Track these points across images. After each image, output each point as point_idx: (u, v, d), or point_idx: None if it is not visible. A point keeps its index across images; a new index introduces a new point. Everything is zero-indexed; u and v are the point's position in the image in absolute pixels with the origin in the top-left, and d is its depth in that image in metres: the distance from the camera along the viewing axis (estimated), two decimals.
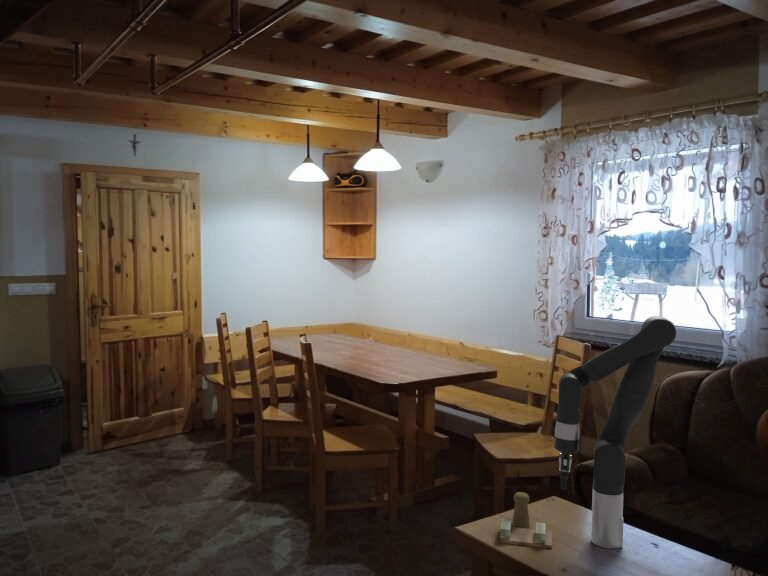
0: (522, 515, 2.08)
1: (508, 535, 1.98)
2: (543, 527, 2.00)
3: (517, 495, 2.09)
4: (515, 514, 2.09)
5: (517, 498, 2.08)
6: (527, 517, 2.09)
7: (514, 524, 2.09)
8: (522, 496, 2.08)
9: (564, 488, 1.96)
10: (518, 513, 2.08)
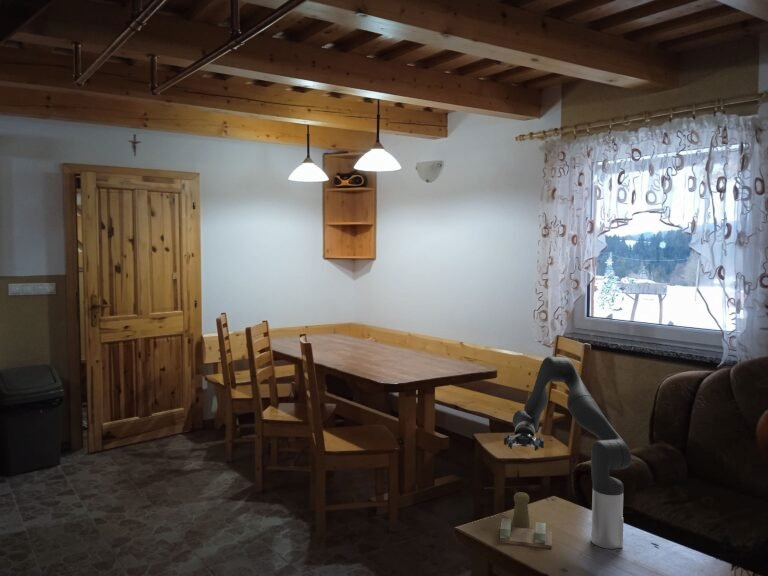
0: (522, 515, 2.08)
1: (508, 535, 1.98)
2: (543, 527, 2.00)
3: (517, 495, 2.09)
4: (515, 514, 2.09)
5: (517, 498, 2.08)
6: (527, 517, 2.09)
7: (514, 524, 2.09)
8: (522, 496, 2.08)
9: (510, 444, 2.21)
10: (518, 513, 2.08)
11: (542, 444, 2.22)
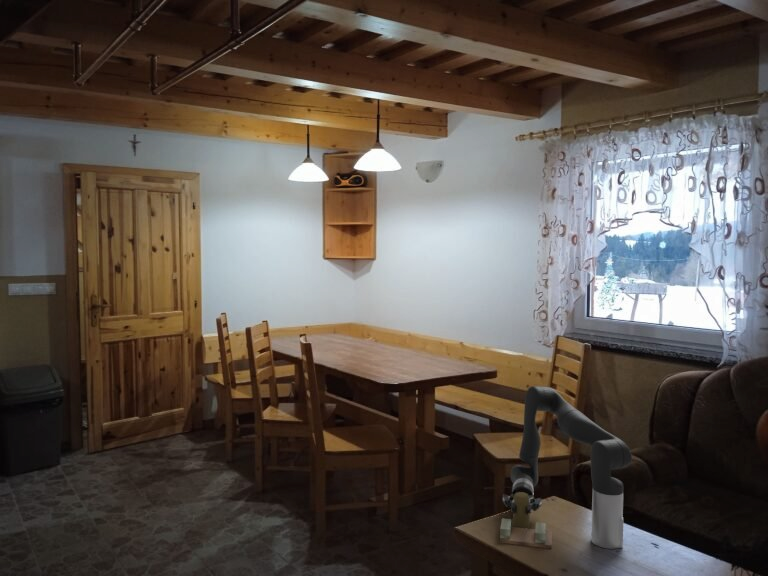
0: (522, 515, 2.08)
1: (508, 535, 1.98)
2: (543, 527, 2.00)
3: (517, 495, 2.09)
4: (515, 514, 2.09)
5: (517, 498, 2.08)
6: (527, 517, 2.09)
7: (514, 524, 2.09)
8: (522, 496, 2.08)
9: (513, 508, 2.09)
10: (518, 513, 2.08)
11: (535, 507, 2.11)
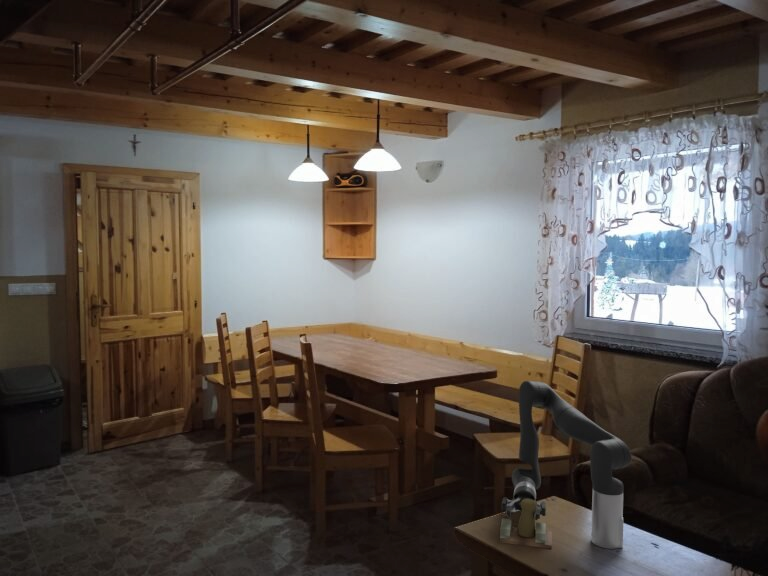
0: (528, 522, 1.99)
1: (508, 535, 1.98)
2: (543, 527, 2.00)
3: (524, 501, 2.00)
4: (521, 521, 2.00)
5: (524, 504, 2.00)
6: (533, 525, 2.00)
7: (519, 531, 2.00)
8: (529, 502, 1.99)
9: (508, 512, 2.01)
10: (524, 520, 2.00)
11: (544, 512, 2.02)
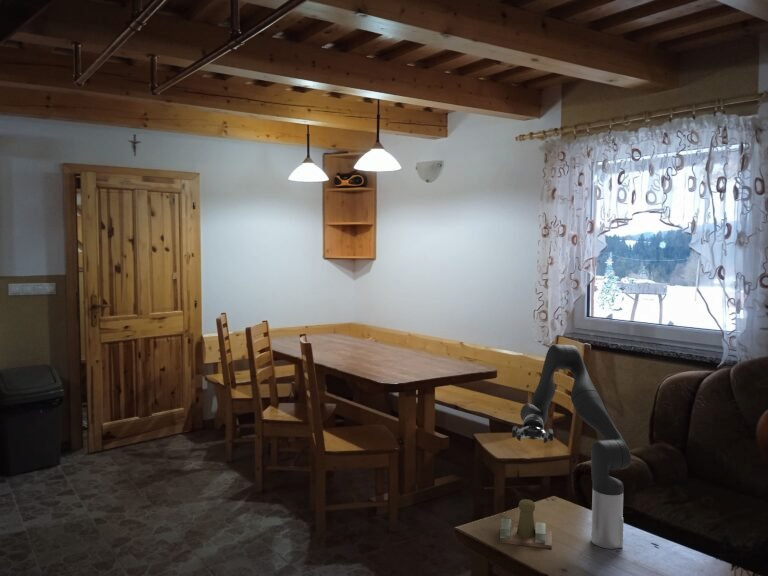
0: (527, 523, 1.99)
1: (508, 535, 1.98)
2: (543, 527, 2.00)
3: (522, 502, 2.01)
4: (519, 522, 2.01)
5: (521, 505, 2.00)
6: (532, 526, 2.00)
7: (518, 532, 2.01)
8: (526, 503, 2.00)
9: (518, 436, 2.16)
10: (522, 521, 2.00)
11: (551, 436, 2.17)
